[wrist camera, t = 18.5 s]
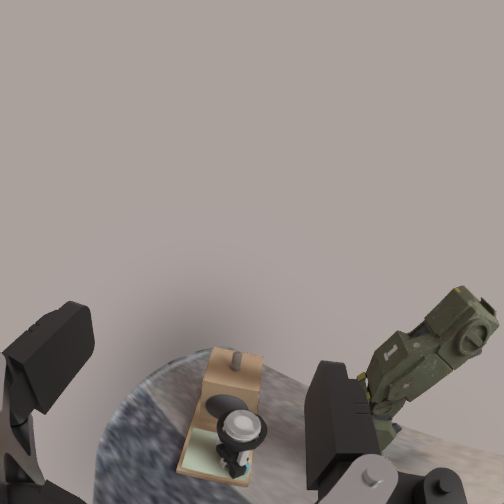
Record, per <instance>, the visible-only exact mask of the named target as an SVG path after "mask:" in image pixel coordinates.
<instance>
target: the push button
mask: <svg viewBox="0 0 504 504" xmlns="http://www.w3.org/2000/svg"><path fill="white" fill-rule="evenodd" d="M223 427H224V431H223ZM216 428H217V433H218V436H217V437H215V439H216V440H215V443H216V444H217V445H216V451H217V453H218V454H219V456H220V457H221V460H220V465H221V466H222V468H223V469H225V465H226V466H227V467H228V469H229V474H230V476H231V478H232V479H235V478H238V477H240V476H242V475H245V474H247V473H248V471H249V469H250V464H249V463H248V460H249V458H248V455H249V452H250V450H253V449H255V448H256V447H258V446H259V445H260V444H261V443H262V442H263V441H264V439H265V437H266V434H267V426H266V424H265V422H264V420H263V419H262V418H261V417H260V416H259V415H257V414H255V413H254V412H251V411H248V410H243V409H235V410H230V411H227V412H225V413H224V414H223V415H221V416H220V418H219V419H218V421H217V427H216ZM258 435H259V437H258V438H257V439H256V437H257V436H258ZM218 438H219V439H218ZM255 439H256V440H255ZM217 442H218V443H217ZM222 464H223V465H222Z"/></svg>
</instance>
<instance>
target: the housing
mask: <svg viewBox="0 0 504 504" xmlns="http://www.w3.org/2000/svg"><path fill="white" fill-rule="evenodd" d="M262 365H263V356H258V355H253V354H248V353H242V352H238V351H232V350H227V349H223V348H218V347H214V348H213V351H212V354H211V357H210V360H209V363H208V366H207V369H206V372H205V375H204V378H203V383H202V391H201V394H200V397H199V400H198V404H197V407H196V410H195V413H194V416H193V419H192V422H191V425H190V428H189V432H188V435H187V438H186V441H185V444H184V447H183V450H182V453H181V457H180V460H179V463H178V466H177V469H176V472H177V473H180V474H184V475H187V476H192V477H196V478H200V479H205V480H209V481H214V482H219V483H225V484H230V485H237V486H243V487H248V485H249V478H250V470H251V462H252V454H253V450H250V452H249V455H248V458H249V460H248V463H249V464H250V469H249V471H248V473H247V474H245V475H242V476H240V477H238V478H235V479H232V478H231V476H230V474H229V469H228V467H227V466H226V465H225V469H223V468H222V466H221V465H220V460H221V457H220V456H219V454H218V453H217V451H216V445H217V444H216V443H215V440H216V439H215V437H217V436H218V433H217V428H216V427H217V421H218V419H219V418H220V416H221V415H223V414H224V413H225V412H227V411H230V410H235V409H243V410H248V411H251V412H254V413H255V414H257V411H258V402H259V398H258V396H259V392H260V385H261V375H262ZM223 431H224V427H223ZM218 439H219V438H218ZM217 443H218V442H217ZM222 465H223V464H222Z"/></svg>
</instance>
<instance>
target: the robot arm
mask: <svg viewBox="0 0 504 504" xmlns="http://www.w3.org/2000/svg"><path fill="white" fill-rule="evenodd" d="M94 344H95V340H94V334H93V327H92V320H91V313H90V309H89V308H88V307H87V306H85V305H81V304H79V303H76V302H73V301H68V302H66V303H65V304H64V305H63V306H62V307H61V308H59V309H58V310H55V311H52V312H50V313H48V314H45V315H44V316H43V317H41V318H40V319H39V320H38V321H37V322H36V323H35V324H33V325H32V326H31V327H30V328H29V329H28V331H27V330H26V331H25V332H24V333H23V334H22V335H21V336H20V337H18V338H17V339H16V340H15V341H14V342H13V343H12V344H11V345H10V346H8V347H7V348H6V349H5V350H4V351H3V352H2V353H0V504H86V503H85V502H84V501H83V500H81V499H80V498H79V497H77V496H75V495H73V494H71V493H70V492H68V491H66V490H64V489H62V488H60V487H59V486H57V485H55V484H53V483H52V482H50V481H48V480H46V481H45V480H44V477H43V475H42V472H41V470H40V468H39V466H38V462H37V457H36V449H35V441H34V430H33V418H32V415H31V412H32V411H33V410H34V409H36V410H38V411H40V412H41V413H43V414H45V415H46V413H47V412H48V411H49V409H50V408H51V407H52V405H53V404H54V403H55V401H56V400H57V399H58V397H59V396H60V395H61V394H62V392H63V391H64V390H65V388H66V387H67V386H68V384H69V383H70V382H71V381H72V379H73V378H74V377H75V375H76V374H77V373H78V372H79V370H80V369H81V368H82V367H83V365H84V364H85V363H86V361H87V360H88V359H89V358H90V357H91V355H92V353H93V350H94V346H95V345H94ZM304 413H305V438H306V476H307V490H318V500H317V501H316V502H315V503H314V504H467V500H466V496H465V493H464V489H463V485H462V482H461V479H460V478H459V476H458V475H457V474H456V473H455V472H454V471H452V470H450V469H448V468H436V469H434V470H432V471H430V472H429V473H428V474H427V475H426V476H425V477H424V476H418V475H412V474H406V473H402V472H399V471H397V469H396V467H395V466H394V464H393V463H392V462H391V461H390V460H388V459H387V458H385V457H383V456H382V455H381V452H380V447H379V443H378V439H377V435H376V431H375V427H374V423H373V419H372V416H371V411H370V407H369V406H368V400H367V396H366V392H365V390H364V389H363V387H362V386H361V385H360V384H359V382H358V381H357V380H356V379H348V375H347V371H346V366H345V364H344V363H339V362H331V361H321V362H320V363H319V365H318V367H317V370H316V372H315V375H314V378H313V380H312V382H311V385H310V387H309V389H308V392H307V395H306V399H305V405H304ZM503 504H504V503H503Z"/></svg>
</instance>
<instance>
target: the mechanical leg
mask: <svg viewBox="0 0 504 504" xmlns="http://www.w3.org/2000/svg"><path fill="white" fill-rule="evenodd" d="M498 327H499V323H498V320H497V319H496V311H495V310H494V309H493V308H492V307H491V306H490V305H489V304H488V303H487V302H486V301H485V300H484V299H483V298H482V297H481V301H478V299H477V298H476V297H475V296H474V295H473V294H472V293H471V292H470V291H469V290H468V289H467V288H466V287H465V286H460V287H457V288H454V289H453V290H452V291H451V292H450V293H449V294H448V295H447V296H446V297H445V298H444V299H443V300H442V301H441V302H440V303H439V304H438V305H437V306H436V307H435V308H434V309H433V310H432V311H431V312H430V313H429V314H428V315H427V316H426V317H425V320H424V321H423V322H422V323H421V324H420V325H418V326H417V327H416V328H415V329H414V330H413V331H411V332H410V333H407V334H406V333H403V332H401V331H396V332H395V333H394V334H393V335H392V336H391V337H390V338H389V339H388V340H387V341H386V342H385V343H383V344H382V345H381V346H380V347H379V348H378V349H377V350H376V351H375V352H374V355H373V357H372V359H371V362H370V364H369V366H368V369H367V371H366V373H365V372H363V373H361V374H360V375H358V376H357V379H356V380H357V381H358V382H359V384H360V385H361V386H362V387H363V389H364V390H365V392H366V396H367V400H368V406H369V407H370V411H371V416H372V419H373V423H374V427H375V431H376V435H377V439H378V443H379V447H380V452H381V455H382V450H384V449H385V448H386V447H387V446H388V445H389V444H390V443H391V441H392V440H393V439H394V438H395V436H396V435H397V434H396V433H398V432H399V431H400V430H402V428H401V427H400V426H399V425H398V424H397V423H392V417H394V415H395V414H396V413H397V412H398V411H399V410H400V409H401V408H402V407H403V405H404V403H405V401H406V400H407V401H409V402H411V401H412V400H414V399H415V398H417V397H418V396H420V395H421V394H422V393H424V392H425V391H427V390H428V389H429V388H431V387H432V386H433V385H435V384H436V383H437V382H439V381H440V380H441V379H443V378H444V377H445V376H447V375H448V374H449V373H451V372H452V371H453V369H454V370H456V369H457V368H458V367H460V366H461V365H462V364H463V363H465V362H466V361H467V360H468V359H471V358H473V357H475V356H477V355H479V354H481V352H482V347H483V346H484V345H485V344H486V342H487V340H488V339H489V337H490V336H491V335H492V334H493V332H494V331H495V330H496V329H497V328H498ZM365 378H368V386H367V387H366V383H365Z"/></svg>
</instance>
